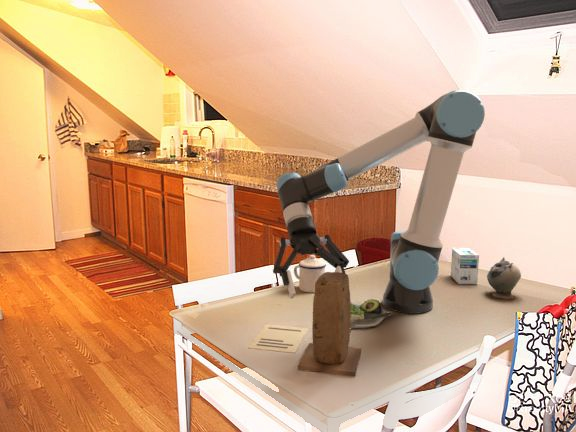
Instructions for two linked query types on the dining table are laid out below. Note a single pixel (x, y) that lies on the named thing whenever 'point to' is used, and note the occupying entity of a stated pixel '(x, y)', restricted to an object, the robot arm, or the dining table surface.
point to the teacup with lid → (309, 273)
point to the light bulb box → (464, 266)
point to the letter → (279, 338)
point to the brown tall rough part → (331, 318)
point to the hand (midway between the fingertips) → (318, 293)
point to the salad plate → (367, 314)
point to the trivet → (343, 368)
